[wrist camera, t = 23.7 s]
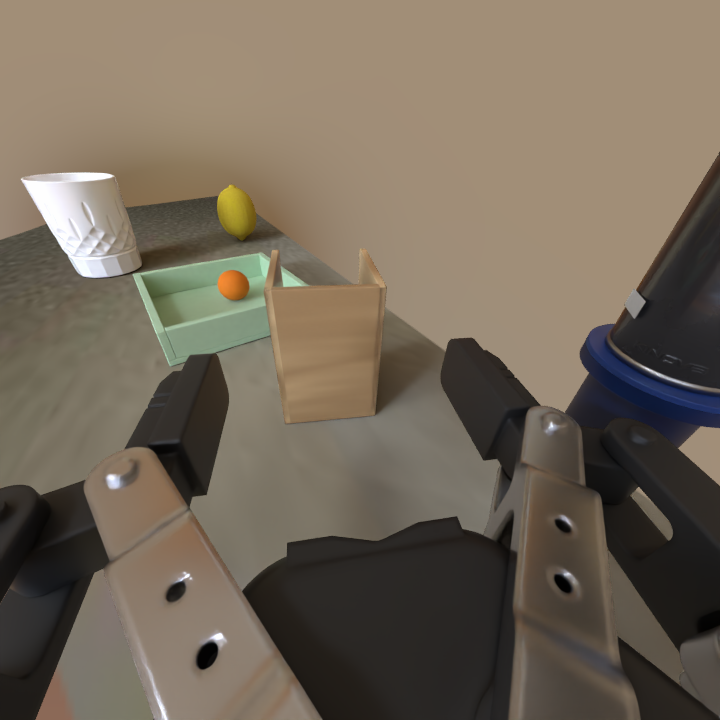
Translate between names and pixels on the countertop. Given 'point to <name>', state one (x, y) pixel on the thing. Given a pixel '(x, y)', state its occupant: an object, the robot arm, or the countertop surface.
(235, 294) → the ball
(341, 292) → the open wooden box
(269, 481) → the countertop surface
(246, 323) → the tray
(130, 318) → the countertop surface
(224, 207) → the lemon
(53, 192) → the white cup
